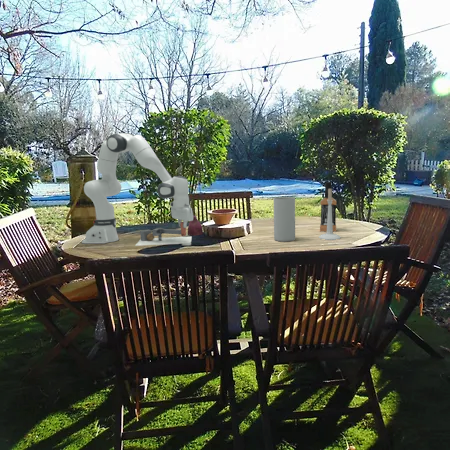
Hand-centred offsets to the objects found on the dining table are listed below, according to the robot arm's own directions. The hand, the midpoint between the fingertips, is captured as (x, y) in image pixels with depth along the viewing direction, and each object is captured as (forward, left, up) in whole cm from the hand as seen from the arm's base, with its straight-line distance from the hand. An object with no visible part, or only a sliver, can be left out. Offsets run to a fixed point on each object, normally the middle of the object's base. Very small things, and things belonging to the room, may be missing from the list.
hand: (182, 227), depth 232 cm
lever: (-8, +3, -5) cm, 10 cm away
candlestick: (+87, -2, -10) cm, 88 cm away
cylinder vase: (+60, -1, -10) cm, 61 cm away
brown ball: (-20, +9, -9) cm, 24 cm away
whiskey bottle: (+94, +23, -10) cm, 98 cm away
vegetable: (+6, +31, -10) cm, 33 cm away
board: (-12, +6, -10) cm, 17 cm away
